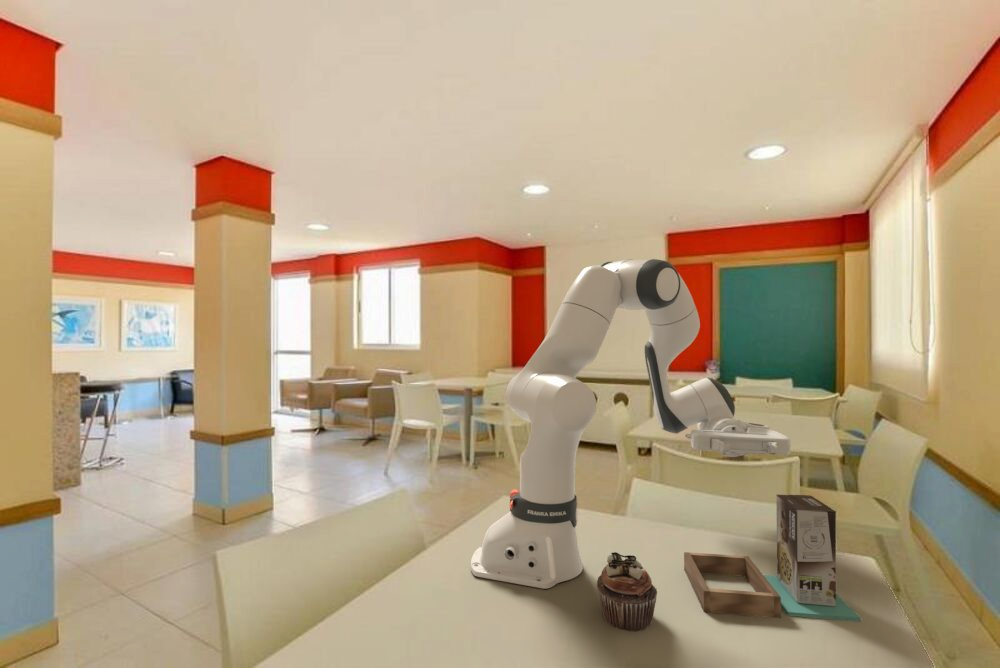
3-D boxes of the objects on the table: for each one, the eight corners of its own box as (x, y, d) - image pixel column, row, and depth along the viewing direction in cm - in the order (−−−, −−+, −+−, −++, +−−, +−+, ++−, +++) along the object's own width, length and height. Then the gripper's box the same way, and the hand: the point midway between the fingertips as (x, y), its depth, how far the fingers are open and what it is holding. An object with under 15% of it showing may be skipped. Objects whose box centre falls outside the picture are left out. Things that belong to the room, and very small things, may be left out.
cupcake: (663, 637, 75) (663, 571, 75) (599, 632, 76) (599, 568, 76) (651, 603, 84) (651, 545, 85) (594, 599, 86) (594, 542, 86)
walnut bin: (703, 611, 82) (703, 590, 82) (684, 569, 97) (684, 552, 97) (780, 618, 80) (780, 596, 80) (748, 574, 95) (748, 556, 95)
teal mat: (787, 615, 81) (787, 611, 81) (758, 577, 94) (758, 574, 94) (860, 621, 79) (860, 617, 79) (820, 581, 92) (820, 578, 92)
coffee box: (838, 607, 82) (837, 511, 82) (796, 604, 83) (796, 509, 83) (812, 580, 91) (812, 494, 91) (775, 578, 92) (775, 492, 92)
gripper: (683, 421, 117) (698, 431, 103) (775, 425, 114) (802, 436, 100) (683, 447, 117) (697, 461, 103) (774, 452, 114) (801, 467, 100)
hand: (749, 449), depth 102 cm, fingers open, 8 cm apart
